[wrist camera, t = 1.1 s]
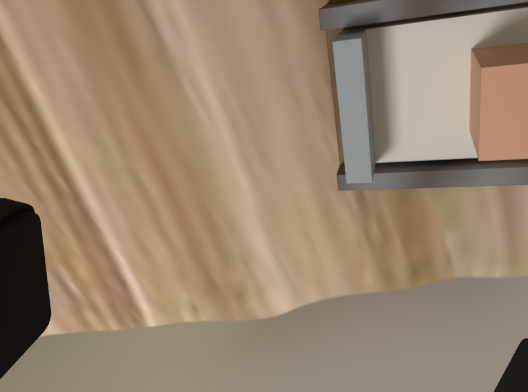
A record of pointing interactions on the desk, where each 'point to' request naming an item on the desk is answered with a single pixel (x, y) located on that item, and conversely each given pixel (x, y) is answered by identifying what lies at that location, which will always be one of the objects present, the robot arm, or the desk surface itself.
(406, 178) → the rail board
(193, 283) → the desk surface
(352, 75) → the white sliding panel
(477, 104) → the terracotta block
